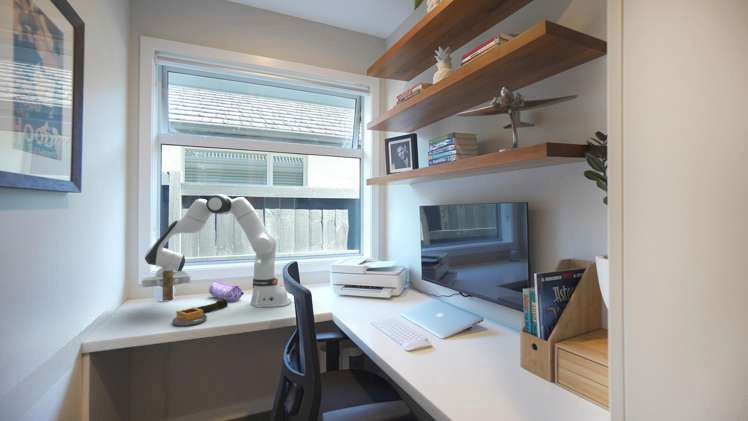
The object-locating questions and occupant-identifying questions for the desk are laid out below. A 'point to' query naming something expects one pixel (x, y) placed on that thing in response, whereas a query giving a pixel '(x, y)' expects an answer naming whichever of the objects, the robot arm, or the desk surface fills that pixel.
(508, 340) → the desk surface
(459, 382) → the desk surface
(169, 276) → the brown wooden block
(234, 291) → the pencil case
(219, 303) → the hand tool
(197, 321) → the collar base
